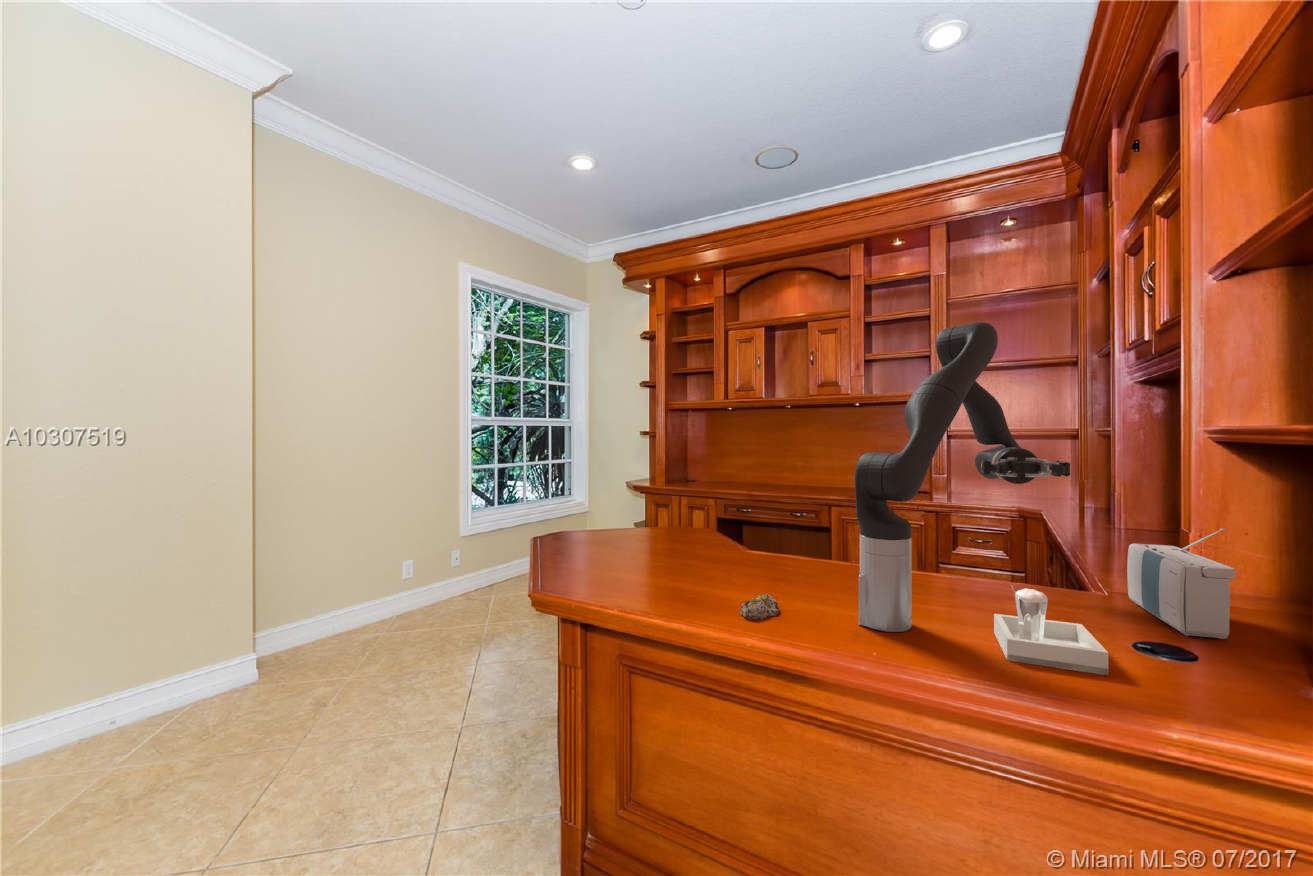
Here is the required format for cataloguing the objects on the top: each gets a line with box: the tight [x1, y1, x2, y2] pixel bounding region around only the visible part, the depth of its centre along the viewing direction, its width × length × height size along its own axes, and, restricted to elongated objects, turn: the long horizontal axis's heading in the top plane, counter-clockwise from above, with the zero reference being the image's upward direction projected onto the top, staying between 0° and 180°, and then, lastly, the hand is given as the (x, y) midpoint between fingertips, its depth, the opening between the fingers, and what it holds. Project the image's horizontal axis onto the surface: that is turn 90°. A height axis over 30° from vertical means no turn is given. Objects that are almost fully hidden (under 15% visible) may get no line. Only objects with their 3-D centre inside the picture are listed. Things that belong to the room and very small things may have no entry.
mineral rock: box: [740, 593, 780, 621], centre depth 109 cm, size 11×4×8 cm
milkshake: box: [1010, 584, 1049, 642], centre depth 90 cm, size 4×5×10 cm
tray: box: [993, 613, 1109, 676], centre depth 89 cm, size 13×13×4 cm
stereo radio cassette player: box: [1126, 527, 1237, 640], centre depth 103 cm, size 21×8×20 cm, turn 158°
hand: (1031, 470), depth 99 cm, fingers open, 8 cm apart
